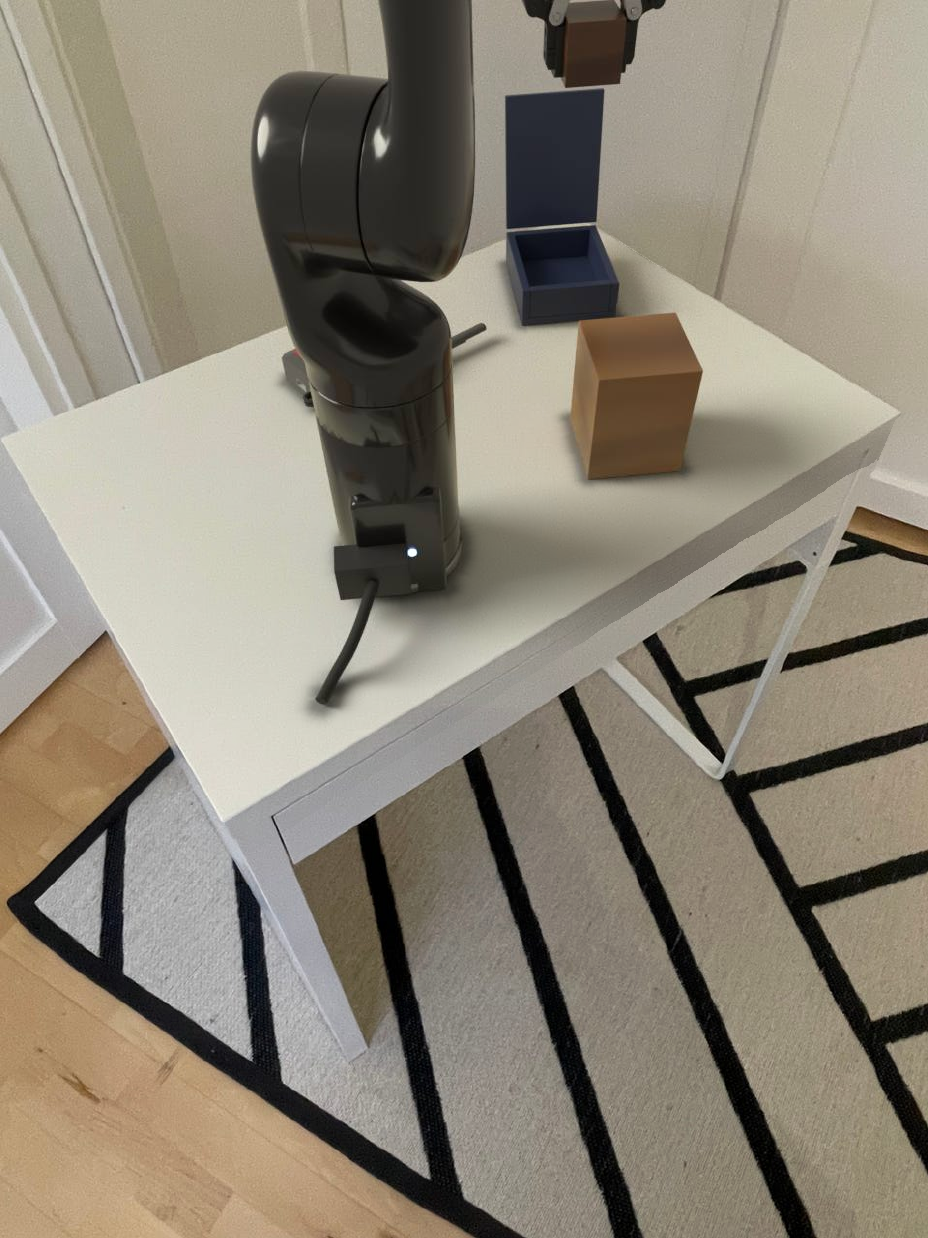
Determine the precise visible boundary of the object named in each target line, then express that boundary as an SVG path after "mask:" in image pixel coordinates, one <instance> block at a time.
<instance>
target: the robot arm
mask: <svg viewBox="0 0 928 1238" xmlns="http://www.w3.org/2000/svg"><path fill="white" fill-rule="evenodd" d="M521 2H522V4H523V7H524V10H525V12H526V14H527V15H528V17H530V18H532V19H533V18H534V19H535V18H537V19H540V20H542V21H543V22H544V25H543V27H544V28H543V50H542V51H543V52H542V59H543V61H544V63H545V66H546V69H547V70H548V71H550V73H551V75H552V77H553V78H554V79H557V78H560V77H562V76H563V64H564V47H565V29H566V26H565V24H564V22H563V21H564V18H565V15H566V12H567V8H568V5H569V3H571V0H521ZM666 2H667V0H619V5H620V6H619V8H620V10H621V11H622V13H623V14H624V16H625V17H626V19H627V22H626V32H625V41H624V51H623V61H622V70H621V74H625V73H626V70H627V66H628V65H632V63H633V61H634V59H635V56H636V47H637V37H638V30H639V21H640V19H641V17H642V16H643V15H644V14H645V13H647V12H649V11H651V10H660V9H662V8H663V7H664V6H665V4H666ZM377 4H378V9H379V14H380V19H381V27H382V33H383V40H384V41H383V42H384V48H385V58H386V67H387V78H384V77H375V76H363V75H353V74H346V73H336V72H326V71H314V70H313V71H312V70H297V71H296V70H295V71H289V72H285V73H284V74H282V75H279V76H278V77H277V78H275V79H273V81H272V82H271V83H270V84H269V85H268V86H267V87H266V89H265V90H264V92H263V94H262V96H261V98H260V100H259V102H258V105H257V107H256V110H255V114H254V118H253V123H252V124H253V125H252V131H251V138H250V174H251V184H252V185H251V186H252V192H253V197H254V205H255V210H256V215H257V220H258V223H259V227H260V231H261V235H262V239H263V243H264V247H265V250H266V254H267V257H268V261H269V264H270V268H271V272H272V275H273V279H274V283H275V286H276V289H277V293H278V296H279V300H280V301H279V302H280V304H281V308H282V312H283V315H284V319H285V323H286V327H287V331H288V335H289V338H290V340H291V343H292V345H293V347H294V349H296V350H297V352H298V353H299V355H300V356H301V358H302V359H303V360H304V362H305V366H306V371H307V375H308V380H309V385H310V390H311V395H312V400H313V404H314V407H313V409H314V414H315V420H316V425H317V430H318V434H319V439H320V444H321V450H322V456H323V460H324V465H325V470H326V475H327V480H328V485H329V491H330V495H331V499H332V504H333V509H334V515H335V520H336V525H337V529H338V533H339V538H340V545H334V546H333V573H334V577H335V582H336V586H337V590H338V591H337V592H338V595H339V599H340V601H348V600H358V599H361V600H360V603H359V606H358V609H357V613H356V615H355V618H354V621H353V623H352V626H351V628H350V632H349V633H348V636H347V638H346V641H345V643H344V645H343V647H342V649H341V651H340V653H339V655H338V656H337V658H336V660H335V662H334V663H333V665H332V667H331V669H330V670H329V672H328V674H327V676H326V678H325V680H324V681H323V683H322V685H321V688H320V689H319V691H318V693H317V695H316V697H315V701H316V702H317V704H320V705H322V706H326V705H328V703H329V701H330V699H331V697H332V695H333V693H334V691H335V689H336V687H337V685H338V683H339V681H340V679H341V677H342V676H343V674H344V672H345V671H346V669H347V667H348V665H349V664H350V662H351V661H352V658H353V657H354V655H355V652H356V650H357V648H358V646H359V644H360V642H361V640H362V637H363V635H364V631H365V629H366V626H367V624H368V621H369V618H370V614H371V611H372V608H373V606H374V604H375V603H374V602H375V599H376V598H379V597H380V598H381V597H389V596H398V595H399V596H400V595H408V594H412V593H417V592H418V593H419V592H427V591H438V590H439V591H440V590H445V589H446V588H447V577H448V576H449V575H450V574H451V573H452V572H453V571H454V569H455V568H456V567H457V565H458V563H459V561H460V559H461V556H462V551H463V540H462V539H463V538H462V532H461V528H460V527H461V526H460V525H461V524H460V523H461V521H460V508H459V507H460V506H459V485H458V484H459V483H458V482H459V481H458V462H457V441H456V417H455V415H456V414H455V391H454V390H455V389H454V371H453V370H454V367H453V349H452V338H451V337H452V331H451V327H450V323H449V320H448V318H447V316H446V314H445V313H444V311H443V309H442V308H441V306H439V305H438V304H437V303H436V302H435V301H434V300H433V299H431V297H429V296H427V295H426V294H425V293H424V292H421V290H418V289H416V288H415V287H413V286H412V285H409V284H408V283H406V282H415V283H434V282H439V281H442V280H443V279H446V278H447V277H448V276H450V274H451V273H452V272H453V271H454V270H455V269H456V267H457V266H458V264H459V262H460V260H461V258H462V257H463V253H464V250H465V247H466V244H467V241H468V237H469V231H470V227H471V221H472V215H473V207H474V199H475V198H474V197H475V183H476V182H475V180H476V112H475V111H476V109H475V108H476V107H475V71H474V70H475V68H474V38H473V37H474V36H473V35H474V34H473V1H472V0H377ZM560 79H561V78H560ZM405 281H406V282H405Z"/></svg>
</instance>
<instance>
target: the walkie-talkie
mask: <svg viewBox="0 0 928 1238" xmlns="http://www.w3.org/2000/svg"><path fill="white" fill-rule="evenodd" d="M487 329H488V328H487V325H486V324H485V323H483V322H480V323H477V324H475V325H473V326H471V327H470V328H467V329H465V330H462V331H461V332H459V333H457V334H454V335H453V336H451V338H452V350H454V349H455V348H458V347H459V346H461V345H463V344H465V343H466V342H467V340H469V339H472V338H474V337H476V336H477V335H480V334H481V333H483V332H486V331H487ZM281 361H282V365H283V371H284V374H285V379H286V381H287V383H289V384H290V385H291V386H292V387H294V389H296V390H297V391H298V392H299V393H301V394H302V395H303V396H302V399H303V404H304V405H305V407H307V408H314V404H313V400H312V395H311V390H310V385H309V380H308V375H307V371H306V366H305V362H304V360H303V359H302V358H301V356H300V355H299V353H298V352H297V350H296V349H295V348H293V349H292V350H288V351H286V352H284V353H283V355H282V356H281Z"/></svg>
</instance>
